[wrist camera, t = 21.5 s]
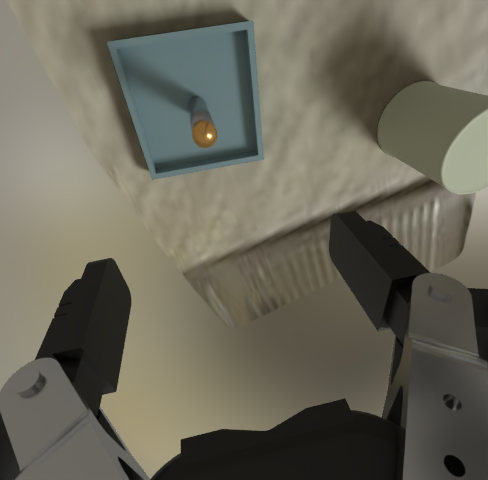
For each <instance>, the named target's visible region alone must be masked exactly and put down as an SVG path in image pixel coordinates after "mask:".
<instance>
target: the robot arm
mask: <svg viewBox="0 0 488 480" xmlns="http://www.w3.org/2000/svg"><path fill="white" fill-rule="evenodd" d="M329 253H330V257H331V259H332V262H333V263H334V265H335V266H336V268H337V269H338V271H339V273H340V274H341V276H342V277H343V279H344V280H345V282H346V283H347V285H348V286H349V287H350V289H351V291H352V292H353V294H354V295H355V297H356V298H357V300H358V301H359V303H360V305H361V306H362V308H363V309H364V311H365V312H366V314H367V315H368V317H369V318H370V320H371V321H372V323H373V324H374V326H375V327H376V329H377V330H378V331H382V330H387V329H391V330H392V331H393V332H394V334H395V337H394V341H393V348H392V356H391V364H390V372H389V380H388V389H387V395H386V399H385V403H384V407H383V413H382V418H381V417H378V416H376V415H373V414H370V413H366V412H361V411H355V410H350V408H349V406H348V404H347V402H346V399H341V400H337V401H333V402H330V403H325V404H322V405H317V406H313V407H310V408H306V409H304V410H303V411H301V412H299V413H297V414H296V415H294V416H292V417H291V418H289V419H287V420H286V421H284V422H282V423H281V424H279V425H277V426H276V427H274V428H272V429H270V430H268V431H251V430H250V431H249V430H229V429H221V430H218V431H213V432H209V433H205V434H201V435H197V436H193V437H189V438H185V439H181V453H180V454H178V455H177V456H175V457H174V458H173V459H171V460H170V461H168V462H167V463H166V464H165V465H164V466H163V467H162V468H161V469H159V471H157V472H156V474H155V475H154V476H153V477H152V478H151V479H149V477H148V476H147V475H146V473H145V472H144V470H143V469H142V468H141V466H140V465H139V464H138V463H137V461H136V460H135V459H134V458H133V456H132V455H131V453H130V452H129V450H128V449H127V447H126V446H125V444H124V443H123V441H122V439H121V438H120V436H119V435H118V433H117V432H116V430H115V429H114V427H113V426H112V424H111V423H110V421H109V419H108V418H107V416H106V415H105V413H104V412H103V410H102V409H101V408H100V403H101V398H102V395H104V394H108V393H112V392H116V390H117V384H118V378H119V372H120V367H121V361H122V355H123V349H124V343H125V337H126V331H127V326H128V320H129V315H130V308H131V294H130V291H129V288H128V286H127V284H126V282H125V280H124V278H123V276H122V274H121V272H120V270H119V268H118V266H117V264H116V262H115V261H114V260H113V259H112V258H108V259H104V260H98V261H94V262H89V263H88V264H87V265H86V268H85V270H84V273H83V275H82V278H81V279H77V280H75V281H74V282H73V283H72V284H71V285H70V286H69V287H68V289H67V290H66V291H65V292H64V294H63V296H62V299H61V301H60V303H59V307H58V308H57V310H56V312H55V315H54V318H53V319H52V322H51V324H50V326H49V329H48V331H47V333H46V336H45V338H44V340H43V342H42V345H41V347H40V349H39V351H38V354H37V356H36V359H35V360H34V361H32V362H30V363H28V364H26V365H25V366H23V367H21V368H20V369H19V370H18V371H16V373H14V374H13V375H12V376H11V377H10V378H9V379H8V381H7V382H6V383H5V385H4V386H3V388H2V390H1V392H0V480H488V289H475V288H466V286H464V285H463V284H462V283H461V282H459V281H457V280H456V279H454V278H452V277H450V276H447V275H443V274H438V273H430V272H429V271H428V270H427V269H426V268H425V267H424V266H423V265H422V264H421V263H420V262H419V261H418V260H417V259H416V258H415V257H414V256H413V255H412V254H411V253H410V252H409V251H407V250H406V249H405V248H404V247H403V246H402V245H400V243H399V242H398V241H397V240H396V239H395V238H393V236H392V235H391V234H390V233H389V232H388V231H387V230H386V229H385V228H384V227H382V226H380V225H378V224H376V223H374V222H372V221H365V220H364V219H363V218H362V217H361V216H360V215H359V214H358V213H357V212H356V211H354V210H352V211H347V212H342V213H337V214H333V215H332V218H331V227H330V240H329Z"/></svg>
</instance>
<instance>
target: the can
mask: <svg viewBox="0 0 488 480" xmlns="http://www.w3.org/2000/svg"><path fill="white" fill-rule="evenodd" d="M377 138H378V143H379V145H380V147H381V149H382V150H383V151H384V152H385V153H386V154H388V155H389V156H392V157H395V158H397V159H399V160H400V161H402V162H404V163H406V164H407V165H409V166H411V167H412V168H414V169H416V170H417V171H419V172H421V173H422V174H424V175H426V176H427V177H429V178H430V179H432V180H434V181H435V182H437V183H438V184H440V185H442V186H443V187H445V188H446V189H447V190H448V191H450V192H452V193H455V194H470V193H474V192H477V191H480V190H482V189H484V188H486V187H488V96H487V95H482V94H477V93H473V92H468V91H463V90H459V89H454V88H450V87H446V86H442V85H439V84H437V83H435V82H431V81H421V82H416V83H414V84H411V85H409V86H407V87H406V88H404V89H403V90H401V91H400V92H399V93H398V94H396V95H395V96H394V97H393V98H392V100H391V101H390V102H389V103H388V105H387V106H386V108H385V109H384V111H383V113H382V115H381V118H380V120H379V124H378V129H377Z"/></svg>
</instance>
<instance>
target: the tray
mask: <svg viewBox="0 0 488 480" xmlns="http://www.w3.org/2000/svg"><path fill="white" fill-rule="evenodd" d="M107 45H108V48H109V51H110V54H111V57H112V60H113V63H114V66H115V69H116V72H117V75H118V78H119V81H120V84H121V87H122V90H123V93H124V96H125V99H126V102H127V105H128V108H129V111H130V114H131V117H132V120H133V123H134V126H135V129H136V132H137V135H138V138H139V141H140V144H141V148H142V151H143V154H144V157H145V160H146V163H147V166H148V169H149V172H150V175H151V178H152V180H153V179H158V178H164V177H169V176H175V175H180V174H186V173H191V172H197V171H202V170H208V169H213V168H219V167H224V166H230V165H235V164H241V163H246V162H252V161H257V160H263V159H264V156H263V143H262V130H261V117H260V103H259V90H258V77H257V64H256V51H255V38H254V25H253V21H245V22H238V23H231V24H225V25H218V26H211V27H204V28H197V29H190V30H183V31H176V32H169V33H163V34H156V35H149V36H142V37H135V38H128V39H121V40H114V41H108V42H107ZM195 96H198V97H201V98H203V99H204V100H205V102H206V104H207V107H208V110H209V112H210V115H211V118H212V120H213V123H214V125H215V128H216V131H217V140H216V142H215V144H214V145H213V146H211V147H209V148H202V147H199V146H198V145H197V144H196V143H195V142H194V140H193V137H192V130H191V124H190V117H189V111H188V102H189V100H190V99H191V98H192V97H195Z"/></svg>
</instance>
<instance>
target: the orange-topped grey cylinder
mask: <svg viewBox="0 0 488 480" xmlns="http://www.w3.org/2000/svg"><path fill="white" fill-rule="evenodd" d="M188 111H189V117H190V124H191V130H192V137H193V140H194V142H195V143H196V144H197V145H198V146H199V147H202V148H209V147H211V146H213V145H214V144H215V142H216V140H217V131H216V128H215V125H214V123H213V120H212V118H211V115H210V112H209V110H208V107H207V104H206V102H205V100H204V99H203V98H201V97H198V96H195V97H192V98H191V99H190V100H189V102H188Z"/></svg>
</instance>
